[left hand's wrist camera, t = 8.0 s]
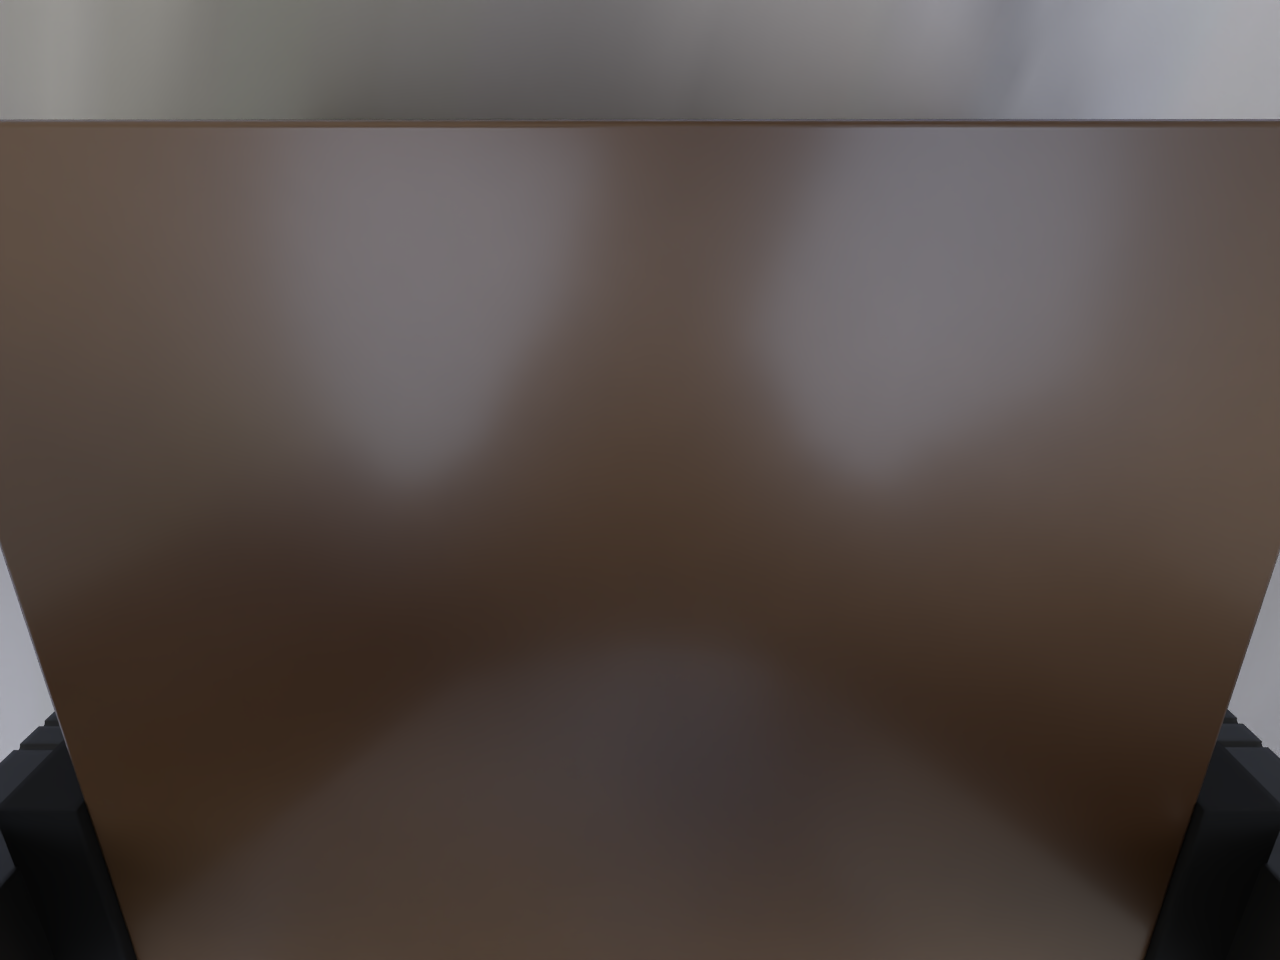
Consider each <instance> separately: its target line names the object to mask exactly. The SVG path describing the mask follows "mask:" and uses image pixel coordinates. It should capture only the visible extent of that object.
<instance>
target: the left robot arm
mask: <svg viewBox="0 0 1280 960" xmlns="http://www.w3.org/2000/svg"><path fill="white" fill-rule="evenodd" d="M0 960H137V958H136V955H135V952H134V949H133V946H132V943H131V940H130V936H129V933H128V930H127V927H126V924H125V921H124V918H123V915H122V912H121V909H120V906H119V903H118V900H117V897H116V894H115V891H114V888H113V885H112V882H111V879H110V876H109V873H108V870H107V867H106V864H105V861H104V858H103V855H102V852H101V849H100V846H99V843H98V840H97V837H96V834H95V831H94V828H93V825H92V822H91V819H90V816H89V813H88V810H87V807H86V804H85V801H84V798H83V795H82V792H81V789H80V785H79V782H78V779H77V776H76V773H75V770H74V767H73V764H72V761H71V758H70V755H69V752H68V749H67V746H66V743H65V740H64V737H63V734H62V731H61V728H60V725H59V722H58V719H57V716H56V713H55V712H54V713H53V714H52V715H50V716H49V717H48V718H47V719H46V720H45V725H44V726H39V727H38V728H37V729H36V730H35V731H34V732H32V733H31V734H30V735H29V736H28V737H27V738H26V739H25V740H24V741H23V742H22V743H21V744H20V749H19V750H13V751H12V752H11V753H10V754H9V755H8V756H7V757H6V758H5V759H4V760H3V761H2V762H1V763H0ZM1144 960H1280V758H1279V757H1278V756H1277V755H1276V754H1275V753H1273V752H1272V751H1271V750H1270V749H1269V748H1268V747H1263V746H1262V741H1261V740H1260V739H1259V738H1258V737H1256V736H1255V735H1254V734H1253V733H1252V732H1251V731H1250V730H1249V729H1248V728H1247V727H1246V726H1245V725H1244V724H1238V723H1237V718H1236V717H1235V716H1234V715H1233V714H1232V713H1231V712H1230V711H1229V710H1228V709H1227V711H1226V714H1225V717H1224V720H1223V723H1222V726H1221V729H1220V732H1219V735H1218V739H1217V742H1216V745H1215V748H1214V751H1213V754H1212V757H1211V760H1210V763H1209V766H1208V769H1207V772H1206V775H1205V778H1204V781H1203V784H1202V787H1201V790H1200V793H1199V796H1198V799H1197V802H1196V805H1195V808H1194V811H1193V814H1192V817H1191V820H1190V823H1189V826H1188V829H1187V832H1186V835H1185V838H1184V841H1183V844H1182V847H1181V850H1180V853H1179V856H1178V859H1177V862H1176V865H1175V868H1174V871H1173V874H1172V877H1171V880H1170V883H1169V886H1168V889H1167V892H1166V895H1165V898H1164V901H1163V904H1162V908H1161V911H1160V914H1159V917H1158V920H1157V923H1156V926H1155V929H1154V932H1153V935H1152V938H1151V941H1150V944H1149V947H1148V950H1147V953H1146V956H1145V959H1144Z"/></svg>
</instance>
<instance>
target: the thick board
mask: <svg viewBox="0 0 1280 960" xmlns="http://www.w3.org/2000/svg"><path fill="white" fill-rule="evenodd" d="M0 547H1V550H2V553H3V556H4V559H5V562H6V565H7V568H8V571H9V574H10V577H11V580H12V583H13V586H14V589H15V592H16V595H17V598H18V601H19V604H20V607H21V610H22V613H23V616H24V619H25V622H26V625H27V628H28V631H29V634H30V637H31V641H32V644H33V647H34V650H35V653H36V656H37V659H38V662H39V665H40V668H41V671H42V674H43V677H44V680H45V683H46V686H47V689H48V692H49V695H50V698H51V701H52V704H53V707H54V710H55V713H56V716H57V719H58V722H59V725H60V728H61V731H62V734H63V737H64V740H65V743H66V746H67V749H68V752H69V755H70V758H71V761H72V764H73V767H74V770H75V773H76V776H77V779H78V782H79V785H80V789H81V792H82V795H83V798H84V801H85V804H86V807H87V810H88V813H89V816H90V819H91V822H92V825H93V828H94V831H95V834H96V837H97V840H98V843H99V846H100V849H101V852H102V855H103V858H104V861H105V864H106V867H107V870H108V873H109V876H110V879H111V882H112V885H113V888H114V891H115V894H116V897H117V900H118V903H119V906H120V909H121V912H122V915H123V918H124V921H125V924H126V927H127V930H128V933H129V936H130V940H131V943H132V946H133V949H134V952H135V955H136V958H137V960H1144V959H1145V956H1146V953H1147V950H1148V947H1149V944H1150V941H1151V938H1152V935H1153V932H1154V929H1155V926H1156V923H1157V920H1158V917H1159V914H1160V911H1161V908H1162V904H1163V901H1164V898H1165V895H1166V892H1167V889H1168V886H1169V883H1170V880H1171V877H1172V874H1173V871H1174V868H1175V865H1176V862H1177V859H1178V856H1179V853H1180V850H1181V847H1182V844H1183V841H1184V838H1185V835H1186V832H1187V829H1188V826H1189V823H1190V820H1191V817H1192V814H1193V811H1194V808H1195V805H1196V802H1197V799H1198V796H1199V793H1200V790H1201V787H1202V784H1203V781H1204V778H1205V775H1206V772H1207V769H1208V766H1209V763H1210V760H1211V757H1212V754H1213V751H1214V748H1215V745H1216V742H1217V739H1218V735H1219V732H1220V729H1221V726H1222V723H1223V720H1224V717H1225V714H1226V711H1227V708H1228V705H1229V702H1230V699H1231V696H1232V693H1233V690H1234V687H1235V684H1236V681H1237V678H1238V675H1239V672H1240V669H1241V666H1242V663H1243V660H1244V657H1245V654H1246V651H1247V648H1248V645H1249V642H1250V639H1251V636H1252V633H1253V630H1254V627H1255V624H1256V621H1257V618H1258V615H1259V612H1260V609H1261V606H1262V603H1263V600H1264V597H1265V594H1266V591H1267V588H1268V585H1269V582H1270V579H1271V576H1272V573H1273V569H1274V566H1275V563H1276V560H1277V557H1278V554H1279V551H1280V119H639V120H638V119H637V120H636V119H635V120H634V119H633V120H0Z"/></svg>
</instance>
